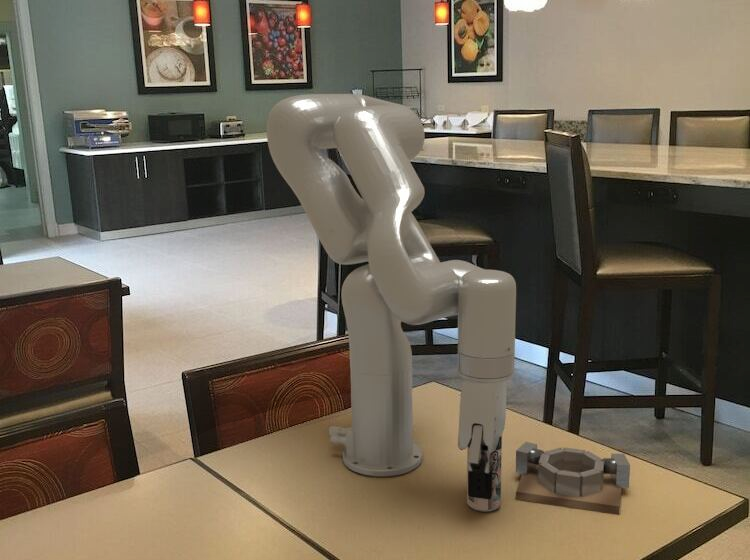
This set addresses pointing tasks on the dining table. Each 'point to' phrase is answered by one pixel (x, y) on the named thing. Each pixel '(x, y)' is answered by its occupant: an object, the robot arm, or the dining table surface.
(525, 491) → the octagonal gimbal ring stand
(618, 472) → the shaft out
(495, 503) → the beer can
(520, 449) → the shaft in
